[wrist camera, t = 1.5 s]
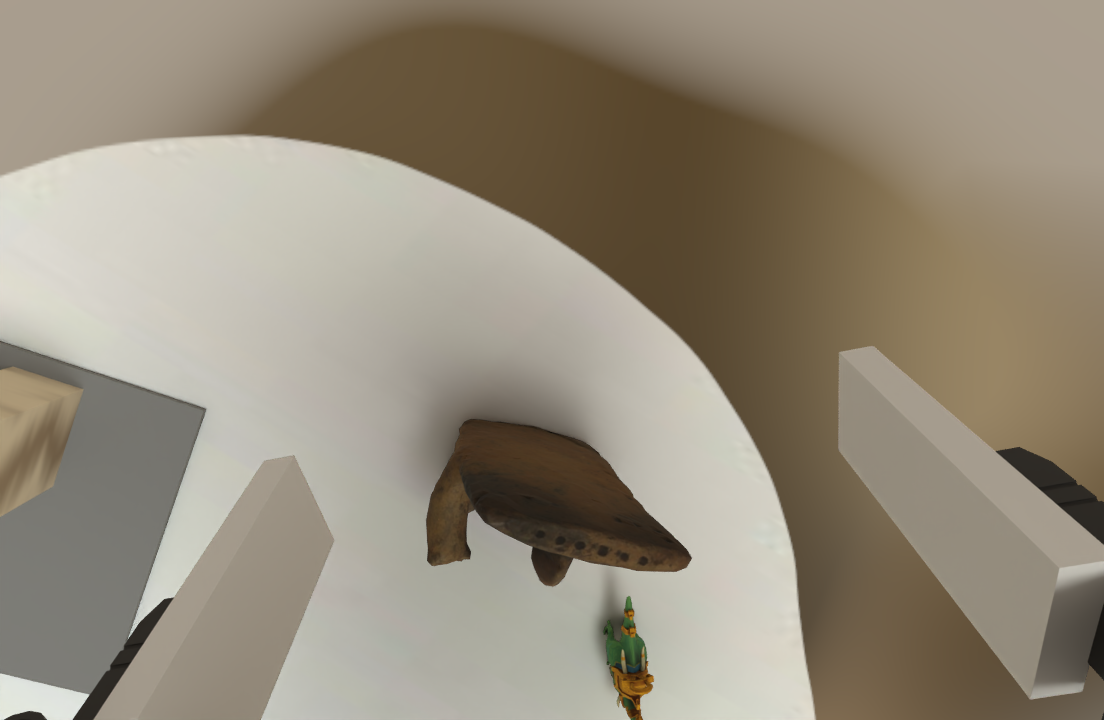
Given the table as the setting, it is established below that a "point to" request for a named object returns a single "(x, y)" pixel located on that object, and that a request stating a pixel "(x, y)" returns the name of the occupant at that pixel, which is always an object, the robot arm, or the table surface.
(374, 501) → the table surface
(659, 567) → the figurine
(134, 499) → the rubber mat
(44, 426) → the beech block
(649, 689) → the figurine
